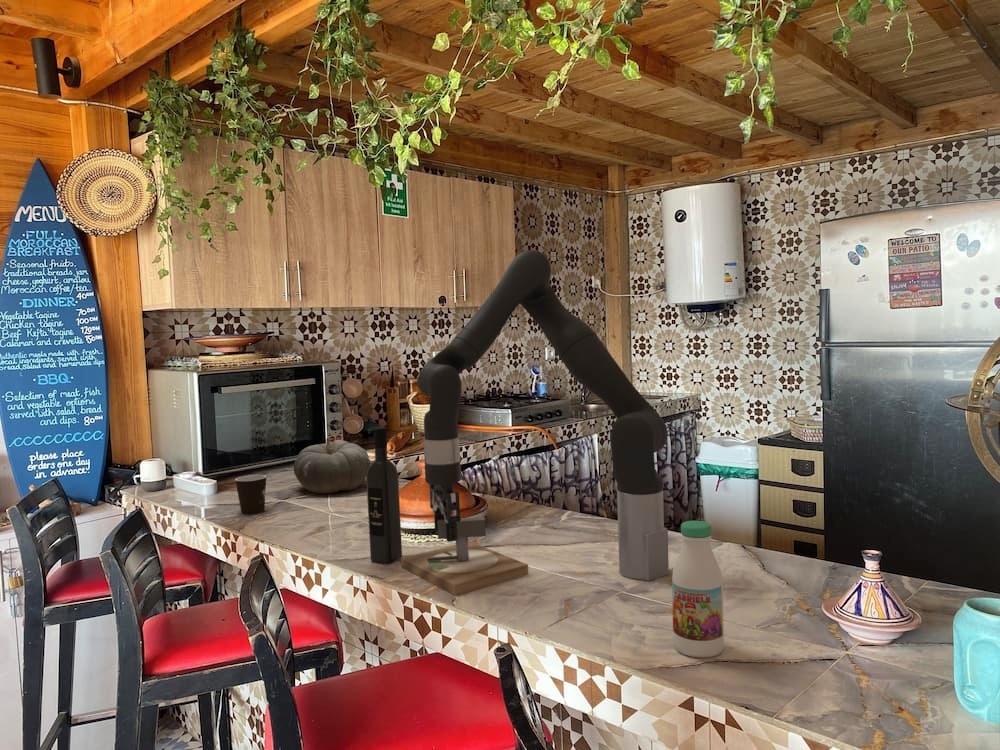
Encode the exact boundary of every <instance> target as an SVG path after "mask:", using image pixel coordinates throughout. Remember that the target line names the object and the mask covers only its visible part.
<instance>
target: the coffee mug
mask: <svg viewBox="0 0 1000 750" xmlns="http://www.w3.org/2000/svg"><path fill="white" fill-rule="evenodd" d="M234 482H235V487H236V490H237V497H238V501H239V507H240V512H241V514H242V515H256V514H261V513H264V512H265V508H266V507H265V506H266V487H267V475H265V474H250V475H243V476H239V477H236V478H235V481H234Z"/></svg>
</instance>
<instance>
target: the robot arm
mask: <svg viewBox="0 0 1000 750" xmlns="http://www.w3.org/2000/svg"><path fill="white" fill-rule="evenodd" d="M551 277H552V267H551V261H550V260H549V259H548V257H547V256H546V255H545V254H544V253H543V252H540V251H538V250H534V249H529V250H524V251H522V252H520V253H518V254H517V255H515V256H514V258H513V260H511V263H510V264H509V266H508V267H507V269H506V270H505V272H504V274H503V275H502V277H501V279H500V281H499V282H498V283H497V285H496V286H495V288H494V289H493V291H492V292H490V295H489V296H488V297H487V298H486V300H485V302H483V304H482V305H481V306H480V308H479V309H478V310H477V311H476V313H475V314H474V315H473V316H472V317H471V318H470V319H469V320H468V322H467V323H466V324H465V325H464V326H463V327H462V328H461V329H460V331H459V332H458V333H456V335H455V337H453V339H452V340H451V341H450V343H449V344H447V346H446V347H444V348H443V349H441V350H440V351H438V353H436V354H435V355H434V356H433V357H432V358H431V359H430V360H428V362H426V364H425V365H424V366H423V367H422V368H421V369H420V372H419V373H418V375H417V388H418V389H419V391H420V392H421V393H422V394H423V395H425V396H427V397H429V410H428V411H427V412H426V413H425V414H424V418H423V430H424V431H423V432H424V445H423V459H424V477H425V479H424V480H425V482H426V484H428V485H429V504H430V505H429V507H430V509H431V510H432V514H433V517H434V518H433V519H434V521H433V522H434V530H435V531H436V532H438V524H437V520H441V519H445V526H446V539H445V540H446V541H447V542H449V543H451V542H456V540H457V522H459V521H460V520H461V518H462V517H461V505H460V493H459V492H458V491H455V490H454V484H458V483H460V482H461V480H462V468H461V467H462V466H461V464H462V463H461V462H462V461H461V446H460V442H459V427H458V426H459V425H458V424H459V423H458V414H459V410H460V404H461V398H462V397H461V396H462V380H461V379H462V378H461V377H460V374H461V373H462V372H463V371H465V370H467V369H470V368H473V367H474V366H475V365H476V364H477V363H478V362H479V360H480V359H482V357H483V356H484V355H485V353H486V352H487V351H489V349H490V348H491V346H492V345H493V344H494V343H495V341H496V340H497V338H498V337H499V335H500V333H501V332H502V331H503V328H504V327H505V324H506V323H507V322H508V321H509V318H510V317H511V315H512V314H513V313H514V312H515V310H516V308H517V307H518V306H519V305H521V307H522V308H523V309H524V310H525V311H526V312H527V313H528V315H530V317H531V318H532V319H533V320H534V321H535V322H536V324H537V326H538V327H539V328H540V330H541V331H542V333H543V334H544V336H545V337H546V340H548V342H549V344H550V346H551V347H552V348H553V350H554V352H555V353H556V354H557V355H558V357H559V360H560V361H561V362H562V363H563V364H564V366H565V368H567V370H568V372H569V373H570V374H571V376H572V377H574V379H575V380H576V382H577V381H578V383H579V384H580V385H582V386H583V387H584V388H585V389H587V390H588V391H590V392H591V393H592V394H593V395H595V396H596V397H597V398H599V399H600V400H601V401H602V402H603V403H604V404H605V405H607V407H608V408H609V409H610V410H611V412H612V413H613V414H614V416H615V418H616V420H615V421H614V423H613V424H612V427H611V433H610V453H611V454H610V455H611V466H612V474H613V477H614V479H615V482H616V491H617V498H616V499H617V528H618V529H617V532H618V533H617V535H618V536H617V537H618V539H617V540H618V564H619V565H618V569H619V573H620V575H622V576H624V577H626V578H629V579H634V580H645V581H651V580H655V579H658V578H660V577H664V576H666V575H669V572H670V570H669V569H670V567H669V561H670V560H669V530H668V528H667V527H665V525H664V524H665V523H664V522H665V520H664V519H665V518H664V517H665V516H664V481H663V477H662V476H661V474H659V473H657V471H656V465H655V464H656V463H655V453H657V452H658V451H660V450H662V448H663V447H665V445H666V443H667V440H668V436H669V435H668V428H667V426H666V423H665V421H664V419H663V418H662V416H661V415H660V414H659V413H658V411H657V410H656V409H655V408H654V407H653V406H652V405H651V404H650V403H649V401H648V400H646V398H645V397H644V396H643V395H642V394H641V393H640V392H639V390H638V389H637V388H636V387H635V386H634V385H633V383H632V382H631V381H630V379H629V378H628V377H627V375H626V373H624V371H623V369H622V368H621V366H620V365H619V364H618V363H617V361H616V360H615V359H614V357H613V356H612V354H611V353H610V352H609V350H608V348H607V347H606V346H605V345H604V343H603V341H602V339H600V338H599V336H598V335H597V333H596V332H595V331H594V330H593V328H592V327H590V326H589V325H588V324H587V323H586V322H585V321H583V320H582V319H581V318H579V317H578V316H576V315H574V314H573V313H571V312H570V311H569V310H568V309H567V308H566V307H565V306H564V305H563V303H562V301H561V300H560V298H559V297H558V296H557V294H556V292H555V290H554V289H553V288H552V285H551Z"/></svg>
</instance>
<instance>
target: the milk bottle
mask: <svg viewBox="0 0 1000 750" xmlns="http://www.w3.org/2000/svg"><path fill="white" fill-rule="evenodd" d="M680 533H681V535H680V538H681V539H682V545H681V548H680V551H679V554H678V556H677V558H676V560H675V562H674V566H673V570H672V577H671V578H672V580H671V581H672V583H671V585H672V586H671V593H672V595H671V596H672V597H671V598H672V605H671V606H672V640H673V646H674V648H675V650H676V651H677V652H679V653H680V654H683V655H685V656H688V657H692V658H701V659H702V658H704V659H705V658H712V657H716V656H719V655H720V654H722V652H723V650H724V647H725V646H724V645H725V637H724V636H725V630H724V629H725V628H724V626H725V624H724V621H725V620H724V593H723V591H724V589H723V577H722V571H721V568H720V565H719V563H718V561H717V558H716V557H715V554H714V552H713V550H712V545H711V539H712V525H711V524H710V523H709V522H707V521H704V520H703V521H701V520H687V521H683V522H682V523H681V524H680Z"/></svg>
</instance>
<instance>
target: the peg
mask: <svg viewBox="0 0 1000 750" xmlns="http://www.w3.org/2000/svg"><path fill="white" fill-rule="evenodd" d="M460 518H461V520H460V521H459V522H457V540H456V541H455V545H456V555H457V556H441V557H427V561H436V560H452V559H457V560H458V561H466V560H468V559H469V550H468V542H469V538H473V537H474V538H476V537H486V534H487V533H486V518H485V516H479V517H476V516H475V517H460ZM437 524H438V531H437V539H438V540H446V526H445V519H441V520H437Z"/></svg>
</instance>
